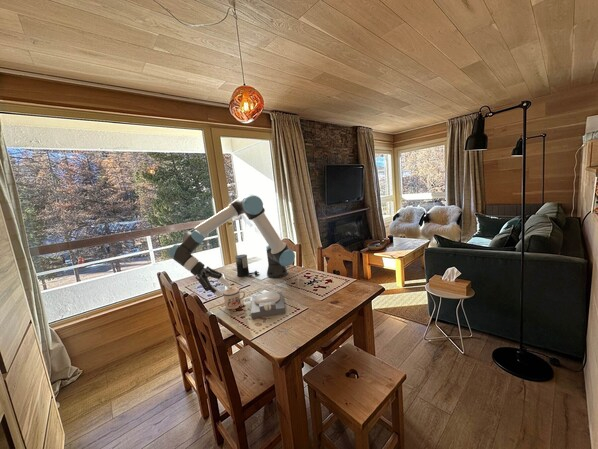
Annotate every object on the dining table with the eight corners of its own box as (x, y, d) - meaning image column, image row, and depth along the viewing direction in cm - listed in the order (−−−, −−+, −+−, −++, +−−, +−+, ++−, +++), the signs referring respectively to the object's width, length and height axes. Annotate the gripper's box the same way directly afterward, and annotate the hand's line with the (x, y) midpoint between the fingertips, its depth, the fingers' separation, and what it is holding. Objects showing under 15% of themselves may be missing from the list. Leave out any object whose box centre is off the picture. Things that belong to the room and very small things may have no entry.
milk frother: (236, 273, 196) (234, 255, 194) (257, 270, 201) (255, 252, 198) (238, 280, 183) (235, 260, 180) (259, 275, 187) (257, 256, 185)
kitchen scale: (253, 301, 146) (251, 290, 145) (282, 296, 148) (281, 286, 147) (251, 318, 127) (250, 307, 126) (285, 313, 129) (284, 301, 128)
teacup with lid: (227, 311, 136) (224, 291, 134) (223, 305, 144) (220, 286, 142) (248, 304, 142) (246, 285, 140) (243, 299, 150) (241, 280, 148)
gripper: (200, 264, 152) (227, 285, 154) (179, 279, 128) (212, 305, 129) (207, 254, 151) (235, 276, 153) (187, 268, 127) (221, 294, 128)
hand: (225, 290), depth 141 cm, fingers open, 13 cm apart
